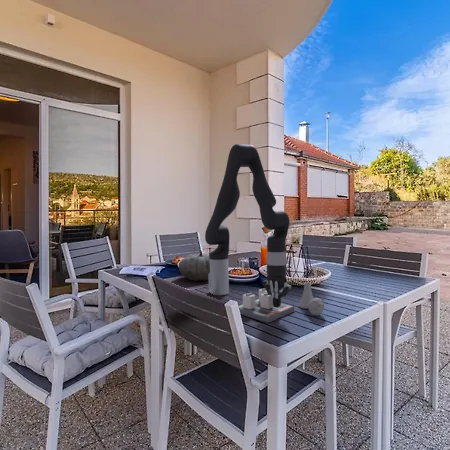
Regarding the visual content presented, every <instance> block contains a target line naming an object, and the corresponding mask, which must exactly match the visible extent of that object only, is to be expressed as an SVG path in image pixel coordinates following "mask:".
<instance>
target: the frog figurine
mask: <svg viewBox="0 0 450 450" xmlns="http://www.w3.org/2000/svg"><path fill="white" fill-rule="evenodd" d="M313 298H314V297H313ZM308 308H309V309H308V310H309V313H310V314H311V315H312V316H315V317H318V316H321V314H323V312H324V310H325V303H324V302H323V300H322V299H321V298H318V297H315V298H314V299H313V300H311V301H310V302H309V304H308Z"/></svg>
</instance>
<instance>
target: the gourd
mask: <svg viewBox="0 0 450 450" xmlns="http://www.w3.org/2000/svg"><path fill="white" fill-rule="evenodd" d="M178 269H179V272H180V274H181V275H182V276H184V278H185V279H188V280H190V281H192V280H193V282H199V281H201V280H203V281H209V278H208V274H209V273H210V264H209V255H203V251H202V250H200V253H199V254H195V253H190V254H188V255H186V256H185V257H183V258H182V259H181V260H180V262H179V263H178ZM198 280H199V281H198Z"/></svg>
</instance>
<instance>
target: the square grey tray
mask: <svg viewBox="0 0 450 450" xmlns="http://www.w3.org/2000/svg"><path fill="white" fill-rule="evenodd" d="M238 306H239V308H240V311H241V314H242V316H244V315H245V316H246V317H248V318H251V319H253V320H257V321H260V322H264V323H270V322H273V321H276V320H278V319H280V318H282V317H284V316H288V315H289V314H292V313H293V312H295V306H293V305H290V304H286V303H282V302H281V306H280V307H278V308H276V307H273V308H270V309H266V308H263V307H261V302H259V298H256V308H253V309H247V308H244V307H243V304H240V305H238ZM241 314H240V315H241ZM245 316H244V317H245Z"/></svg>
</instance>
